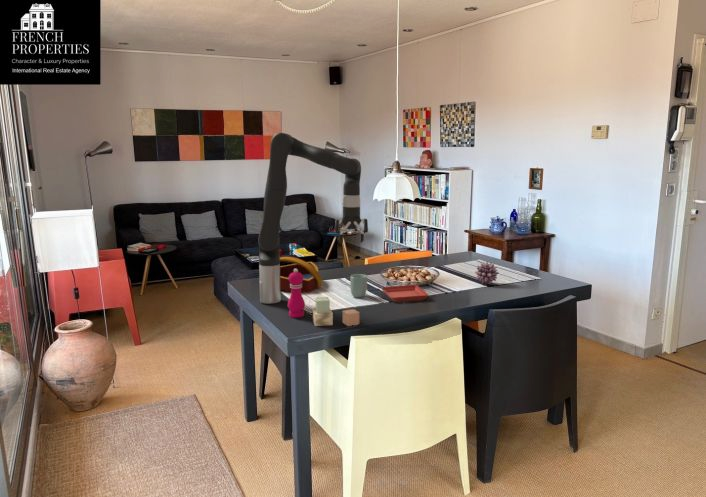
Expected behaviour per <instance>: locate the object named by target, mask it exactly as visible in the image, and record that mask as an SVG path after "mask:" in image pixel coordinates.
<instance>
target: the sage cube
mask: <svg viewBox="0 0 706 497" xmlns="http://www.w3.org/2000/svg"><path fill="white" fill-rule="evenodd" d="M330 301H331V300H330V299H329V296H323V297H322V296H319V297H315V309H316V312H317V313H330V309H331V307H330V306H331V304H330V303H331V302H330Z"/></svg>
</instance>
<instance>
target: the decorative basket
mask: <svg viewBox="0 0 706 497" xmlns="http://www.w3.org/2000/svg"><path fill="white" fill-rule="evenodd" d="M280 262H288V263H291V264H287V265H280V290H281V291H282V290H283V291H287V292H291V288H290V284H291V283H290V282H289V275H290V274H291V273H293V272H294V269H298V272H299V273H301V274H302V275H303V281H302V287H301V293H311V292H313V291H315V290H316V289H319V288H321V287H322V286H323V278H322V277H321V275H320V272H319V268H318V266H317V265H316V264H315V263H314V262H313V261H305V260H303V259H300V258H297V257H293V256H280Z"/></svg>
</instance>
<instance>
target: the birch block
mask: <svg viewBox="0 0 706 497" xmlns="http://www.w3.org/2000/svg"><path fill="white" fill-rule="evenodd" d="M333 315H334V313H333V311H332V309H331V308H330V313H317V312H316V308H313V309H312V322H313V324H314V327H323V326H334V325H333V324H334V323H333V322H334V316H333Z"/></svg>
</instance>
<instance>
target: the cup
mask: <svg viewBox="0 0 706 497" xmlns="http://www.w3.org/2000/svg"><path fill="white" fill-rule="evenodd" d="M349 285H350V287H349V288H350V293H351V295H352V296H353V297H354V298H356V299H357V298H364V297H365V296H366V294H367V289H368V275H366V274H364V273H363V274H362V273H354V274H351V275H350V284H349Z"/></svg>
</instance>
